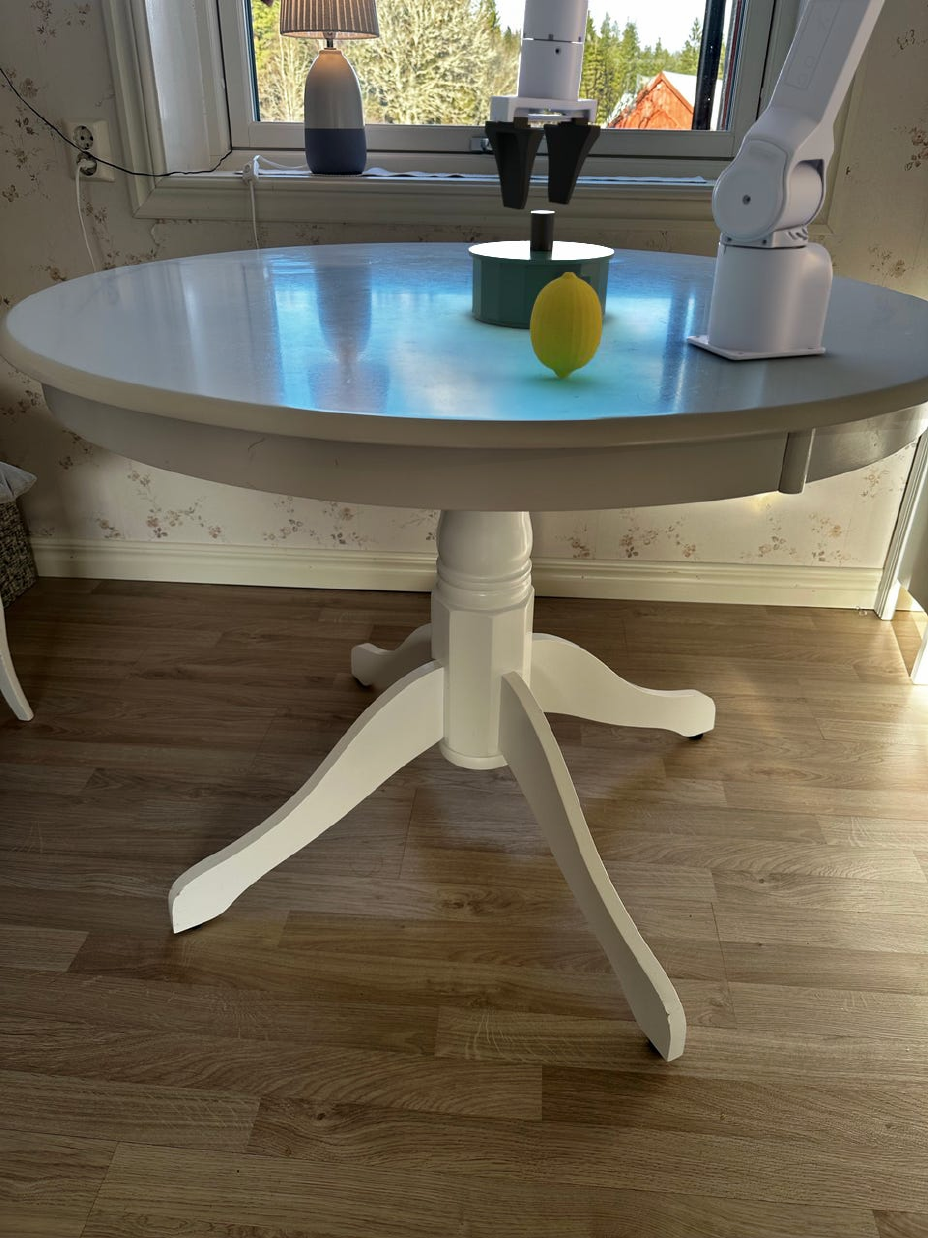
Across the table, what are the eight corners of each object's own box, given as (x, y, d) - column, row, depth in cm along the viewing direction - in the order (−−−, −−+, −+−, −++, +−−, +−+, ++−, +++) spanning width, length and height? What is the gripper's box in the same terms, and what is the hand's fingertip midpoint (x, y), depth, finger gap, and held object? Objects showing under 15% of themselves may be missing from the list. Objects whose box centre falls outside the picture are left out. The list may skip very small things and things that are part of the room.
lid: (577, 249, 101) (579, 204, 99) (639, 268, 89) (643, 217, 87) (450, 254, 97) (450, 206, 95) (497, 274, 85) (498, 220, 83)
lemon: (542, 389, 70) (547, 278, 66) (518, 372, 75) (522, 267, 71) (609, 385, 71) (618, 276, 67) (582, 368, 76) (589, 265, 72)
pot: (562, 297, 106) (565, 241, 103) (639, 329, 90) (645, 265, 87) (448, 302, 102) (448, 245, 99) (508, 337, 86) (510, 271, 83)
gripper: (561, 44, 90) (545, 195, 97) (467, 34, 80) (458, 204, 87) (623, 47, 86) (602, 205, 93) (533, 38, 77) (517, 214, 84)
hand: (536, 205), depth 90 cm, fingers open, 7 cm apart
